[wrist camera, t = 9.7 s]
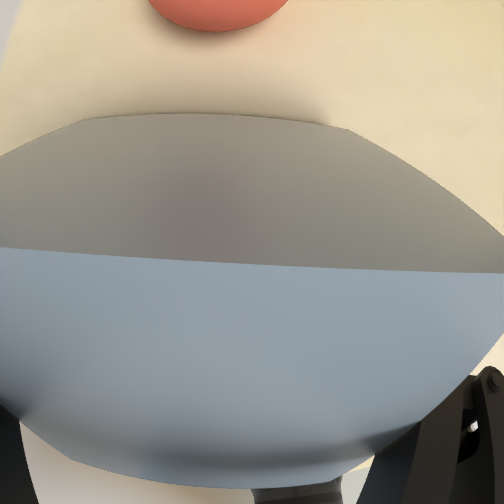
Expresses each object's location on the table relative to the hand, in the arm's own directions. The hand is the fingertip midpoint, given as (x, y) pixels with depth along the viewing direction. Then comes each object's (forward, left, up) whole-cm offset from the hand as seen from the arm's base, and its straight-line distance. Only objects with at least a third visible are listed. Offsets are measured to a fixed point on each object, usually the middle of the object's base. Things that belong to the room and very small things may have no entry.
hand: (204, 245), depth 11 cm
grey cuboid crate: (0, 0, -1) cm, 1 cm away
